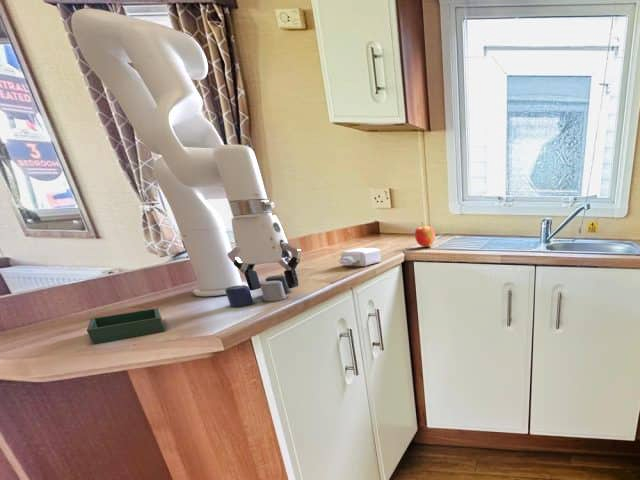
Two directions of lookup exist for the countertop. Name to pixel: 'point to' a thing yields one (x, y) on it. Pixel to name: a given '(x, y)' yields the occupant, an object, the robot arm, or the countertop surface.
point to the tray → (125, 325)
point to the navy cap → (239, 296)
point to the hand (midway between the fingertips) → (274, 288)
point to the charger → (360, 257)
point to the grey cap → (272, 290)
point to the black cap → (280, 278)
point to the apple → (425, 236)
